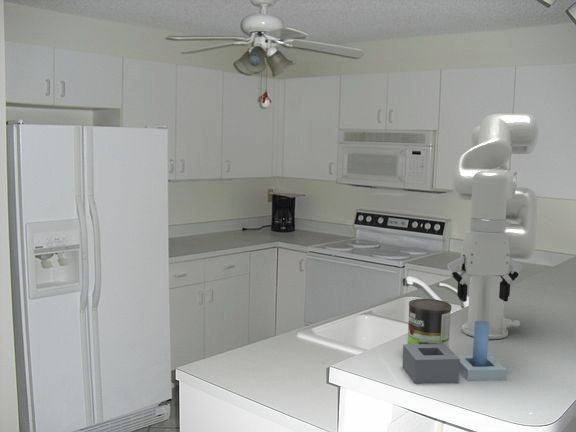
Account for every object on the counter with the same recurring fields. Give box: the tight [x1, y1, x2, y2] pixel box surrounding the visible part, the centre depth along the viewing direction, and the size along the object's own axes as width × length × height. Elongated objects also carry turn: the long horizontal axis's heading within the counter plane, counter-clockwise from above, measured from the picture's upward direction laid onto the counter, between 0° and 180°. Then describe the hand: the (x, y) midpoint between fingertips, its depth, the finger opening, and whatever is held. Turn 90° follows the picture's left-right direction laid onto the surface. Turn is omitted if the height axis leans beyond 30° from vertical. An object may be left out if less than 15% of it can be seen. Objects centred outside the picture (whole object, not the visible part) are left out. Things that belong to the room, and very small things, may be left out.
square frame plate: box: [456, 354, 508, 382], centre depth 140 cm, size 9×9×3 cm
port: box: [402, 343, 460, 385], centre depth 138 cm, size 10×10×6 cm
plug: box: [472, 321, 489, 367], centre depth 139 cm, size 3×3×12 cm
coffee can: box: [406, 298, 452, 349], centre depth 149 cm, size 10×10×14 cm
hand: (483, 300), depth 138 cm, fingers open, 9 cm apart
